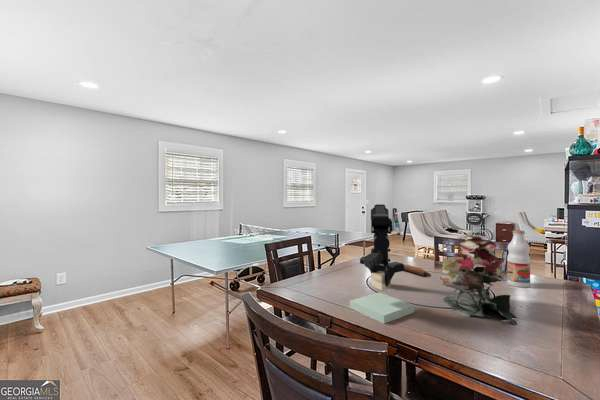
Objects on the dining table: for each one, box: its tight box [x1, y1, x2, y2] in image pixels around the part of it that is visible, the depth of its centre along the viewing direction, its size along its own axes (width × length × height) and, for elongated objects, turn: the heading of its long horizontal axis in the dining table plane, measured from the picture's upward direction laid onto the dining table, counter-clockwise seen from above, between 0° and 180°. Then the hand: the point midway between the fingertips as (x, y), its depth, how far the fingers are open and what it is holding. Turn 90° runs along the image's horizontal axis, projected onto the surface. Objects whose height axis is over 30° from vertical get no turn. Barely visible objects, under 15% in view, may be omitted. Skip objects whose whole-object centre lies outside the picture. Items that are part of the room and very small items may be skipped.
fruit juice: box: [506, 229, 531, 289], centre depth 147 cm, size 9×9×28 cm
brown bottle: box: [403, 264, 432, 278], centre depth 172 cm, size 18×7×7 cm
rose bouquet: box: [439, 235, 518, 326], centre depth 118 cm, size 26×29×30 cm
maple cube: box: [370, 271, 392, 291], centre depth 117 cm, size 6×6×6 cm
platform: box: [349, 292, 415, 324], centre depth 117 cm, size 18×18×3 cm
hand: (381, 284), depth 117 cm, fingers closed on maple cube, 5 cm apart
